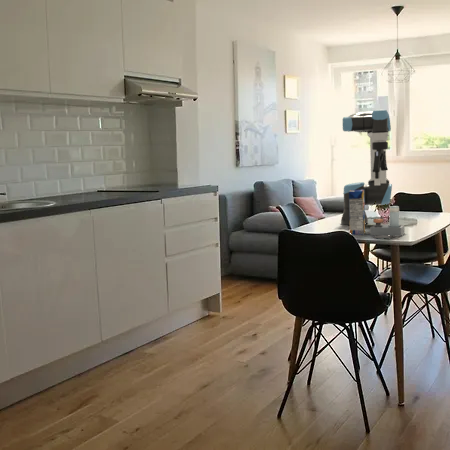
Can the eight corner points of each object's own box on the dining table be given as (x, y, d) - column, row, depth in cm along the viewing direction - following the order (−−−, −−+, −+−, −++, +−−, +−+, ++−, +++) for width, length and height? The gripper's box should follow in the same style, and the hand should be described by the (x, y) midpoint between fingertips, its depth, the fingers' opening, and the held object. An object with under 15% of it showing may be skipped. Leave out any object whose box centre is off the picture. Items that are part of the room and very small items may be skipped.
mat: (373, 238, 288) (373, 237, 288) (376, 236, 294) (376, 235, 294) (390, 239, 284) (390, 237, 284) (393, 236, 290) (393, 235, 290)
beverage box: (349, 234, 303) (348, 191, 300) (351, 231, 313) (350, 189, 311) (363, 234, 301) (362, 191, 298) (365, 231, 311) (364, 189, 308)
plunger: (372, 230, 300) (372, 219, 299) (374, 229, 304) (374, 218, 303) (382, 230, 298) (381, 220, 297) (384, 229, 302) (384, 218, 301)
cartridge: (388, 235, 297) (388, 207, 295) (390, 233, 301) (390, 206, 299) (398, 235, 294) (398, 207, 293) (400, 233, 298) (399, 206, 297)
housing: (370, 235, 299) (370, 227, 298) (374, 232, 307) (374, 224, 306) (400, 236, 292) (400, 228, 291) (404, 233, 300) (404, 225, 299)
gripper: (382, 141, 283) (382, 186, 286) (392, 141, 305) (393, 182, 308) (366, 142, 287) (367, 186, 289) (378, 141, 309) (378, 182, 311)
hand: (380, 184), depth 299 cm, fingers open, 13 cm apart
